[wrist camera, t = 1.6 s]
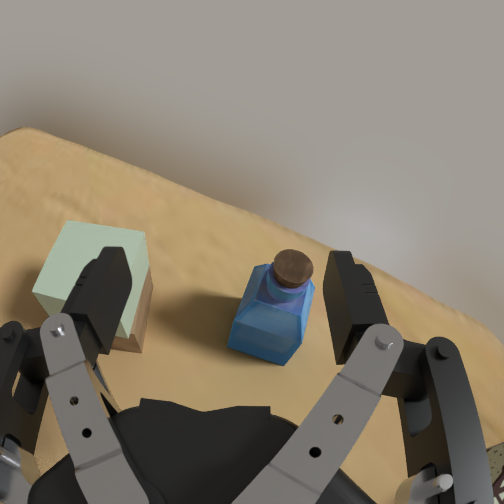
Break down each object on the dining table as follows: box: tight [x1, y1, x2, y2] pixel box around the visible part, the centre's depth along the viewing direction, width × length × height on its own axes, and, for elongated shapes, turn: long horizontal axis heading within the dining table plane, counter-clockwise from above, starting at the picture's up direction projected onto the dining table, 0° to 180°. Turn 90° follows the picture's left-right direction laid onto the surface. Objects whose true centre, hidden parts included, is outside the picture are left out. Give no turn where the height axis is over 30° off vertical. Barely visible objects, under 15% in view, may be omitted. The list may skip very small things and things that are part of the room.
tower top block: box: [32, 220, 149, 339], centre depth 26 cm, size 8×8×5 cm
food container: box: [486, 442, 504, 504], centre depth 18 cm, size 12×6×10 cm, turn 118°
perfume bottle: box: [227, 249, 315, 366], centre depth 29 cm, size 6×6×12 cm
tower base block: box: [111, 266, 153, 353], centre depth 30 cm, size 8×8×5 cm
